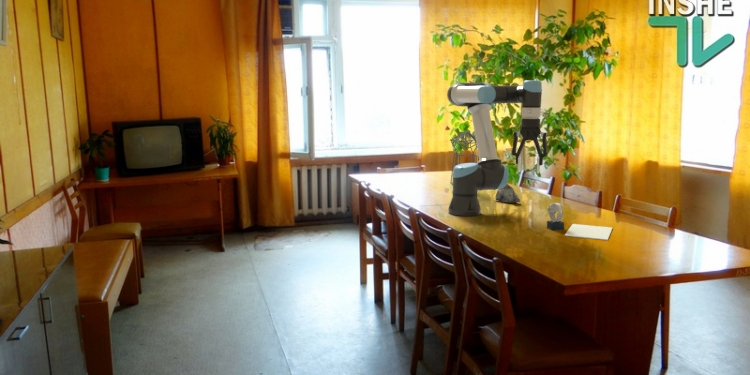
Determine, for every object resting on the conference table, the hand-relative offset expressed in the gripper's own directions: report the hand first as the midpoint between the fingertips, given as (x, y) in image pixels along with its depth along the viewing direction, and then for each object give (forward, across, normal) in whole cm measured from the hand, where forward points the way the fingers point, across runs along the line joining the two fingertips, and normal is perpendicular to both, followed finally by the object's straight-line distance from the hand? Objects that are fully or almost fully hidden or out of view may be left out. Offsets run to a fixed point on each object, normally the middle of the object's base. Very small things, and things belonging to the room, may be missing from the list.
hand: (528, 172), depth 245 cm
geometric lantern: (+23, -50, +69) cm, 88 cm away
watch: (+23, +12, 0) cm, 26 cm away
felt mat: (+23, +26, 0) cm, 34 cm away
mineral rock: (+23, -20, +49) cm, 58 cm away
